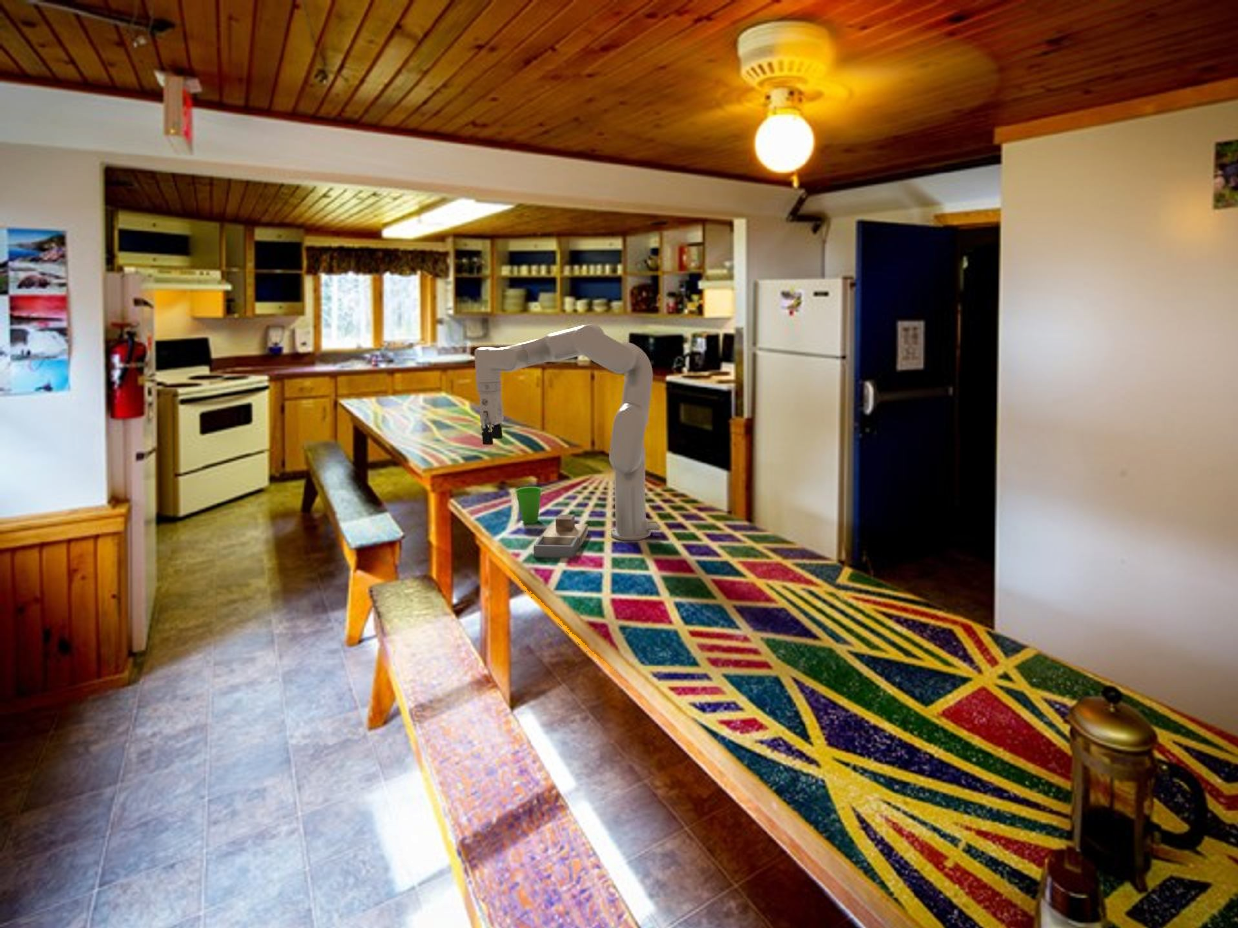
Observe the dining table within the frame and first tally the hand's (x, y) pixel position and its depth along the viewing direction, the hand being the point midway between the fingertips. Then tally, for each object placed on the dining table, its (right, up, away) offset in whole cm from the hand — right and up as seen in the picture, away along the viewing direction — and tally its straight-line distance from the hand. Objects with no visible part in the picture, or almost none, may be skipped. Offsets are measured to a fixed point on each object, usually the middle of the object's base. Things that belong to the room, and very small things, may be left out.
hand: (492, 441), depth 227 cm
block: (+23, -28, -2) cm, 36 cm away
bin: (+22, -33, -14) cm, 42 cm away
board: (+23, -31, -3) cm, 39 cm away
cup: (+10, -27, +17) cm, 33 cm away
